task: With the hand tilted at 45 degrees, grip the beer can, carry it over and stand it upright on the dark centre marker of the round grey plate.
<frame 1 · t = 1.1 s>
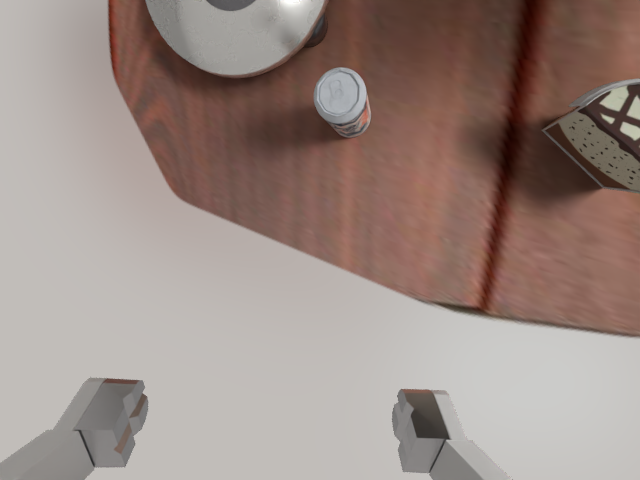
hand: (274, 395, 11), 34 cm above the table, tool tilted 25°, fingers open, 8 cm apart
beer can: (351, 118, 42), on the table
food container: (594, 138, 37), on the table
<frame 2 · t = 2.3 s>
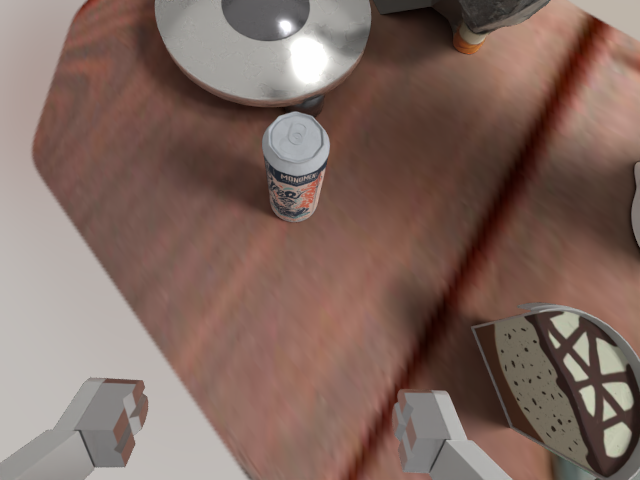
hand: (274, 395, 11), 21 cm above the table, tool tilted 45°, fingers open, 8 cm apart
round grey plate: (268, 41, 40), on the table
beer can: (293, 202, 35), on the table
food container: (516, 365, 33), on the table
dark grey angular piece: (447, 33, 43), on the table
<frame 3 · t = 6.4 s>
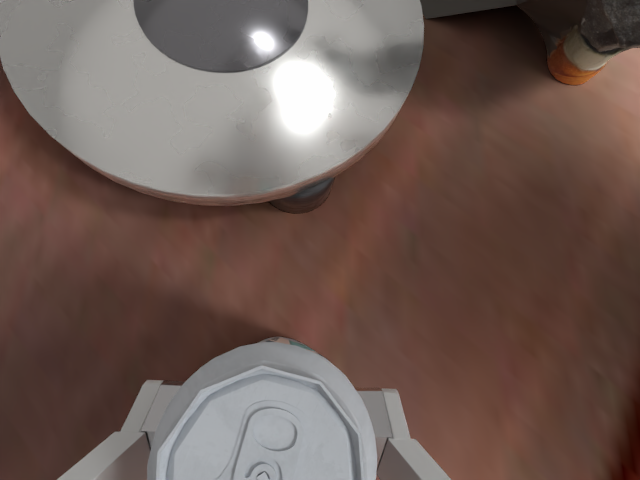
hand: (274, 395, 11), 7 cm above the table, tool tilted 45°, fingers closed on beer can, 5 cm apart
round grey plate: (235, 65, 23), on the table
beer can: (278, 383, 18), on the table, touching gripper
dark grey angular piece: (536, 49, 26), on the table
when the fingers open (14 cm above the table, at t = 10.7 s): beer can stays where it is, resting on round grey plate.
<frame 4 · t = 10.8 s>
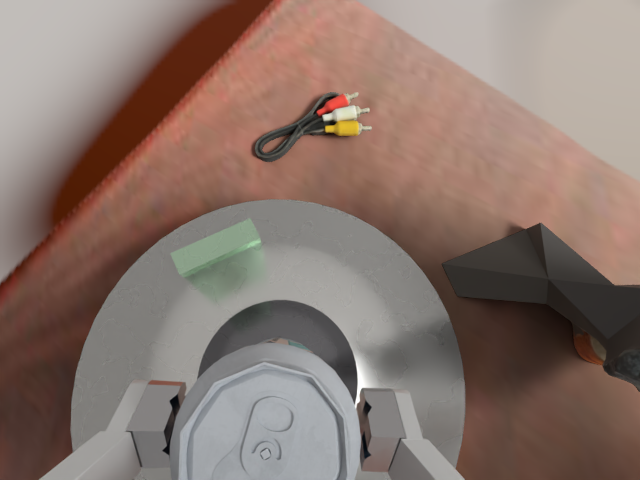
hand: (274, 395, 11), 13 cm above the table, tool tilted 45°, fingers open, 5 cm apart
round grey plate: (280, 371, 24), on the table
beer can: (278, 381, 19), point 5 cm above the table, touching round grey plate
composite cable: (307, 131, 30), on the table
dark grey angular piece: (562, 321, 27), on the table
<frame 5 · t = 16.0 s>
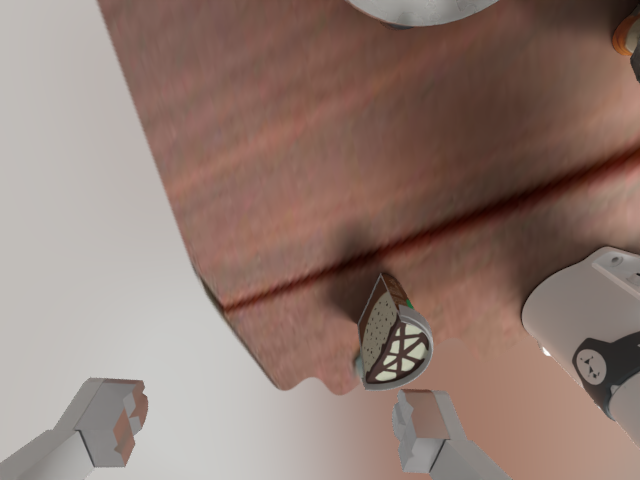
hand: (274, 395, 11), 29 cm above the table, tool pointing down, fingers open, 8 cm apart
food container: (389, 303, 47), on the table
dark grey angular piece: (631, 3, 31), on the table
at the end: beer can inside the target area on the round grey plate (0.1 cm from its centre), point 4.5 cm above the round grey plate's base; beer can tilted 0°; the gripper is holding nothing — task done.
